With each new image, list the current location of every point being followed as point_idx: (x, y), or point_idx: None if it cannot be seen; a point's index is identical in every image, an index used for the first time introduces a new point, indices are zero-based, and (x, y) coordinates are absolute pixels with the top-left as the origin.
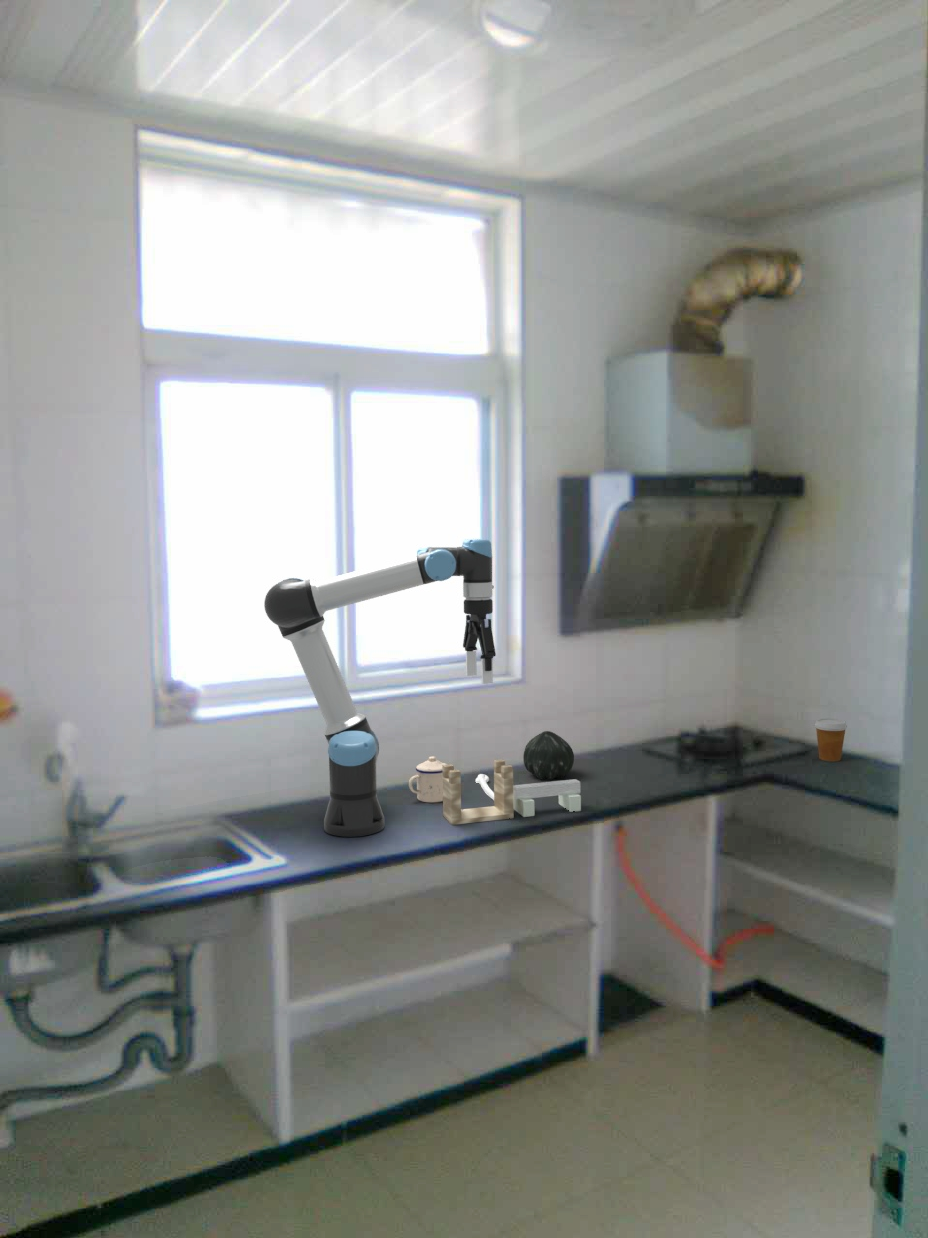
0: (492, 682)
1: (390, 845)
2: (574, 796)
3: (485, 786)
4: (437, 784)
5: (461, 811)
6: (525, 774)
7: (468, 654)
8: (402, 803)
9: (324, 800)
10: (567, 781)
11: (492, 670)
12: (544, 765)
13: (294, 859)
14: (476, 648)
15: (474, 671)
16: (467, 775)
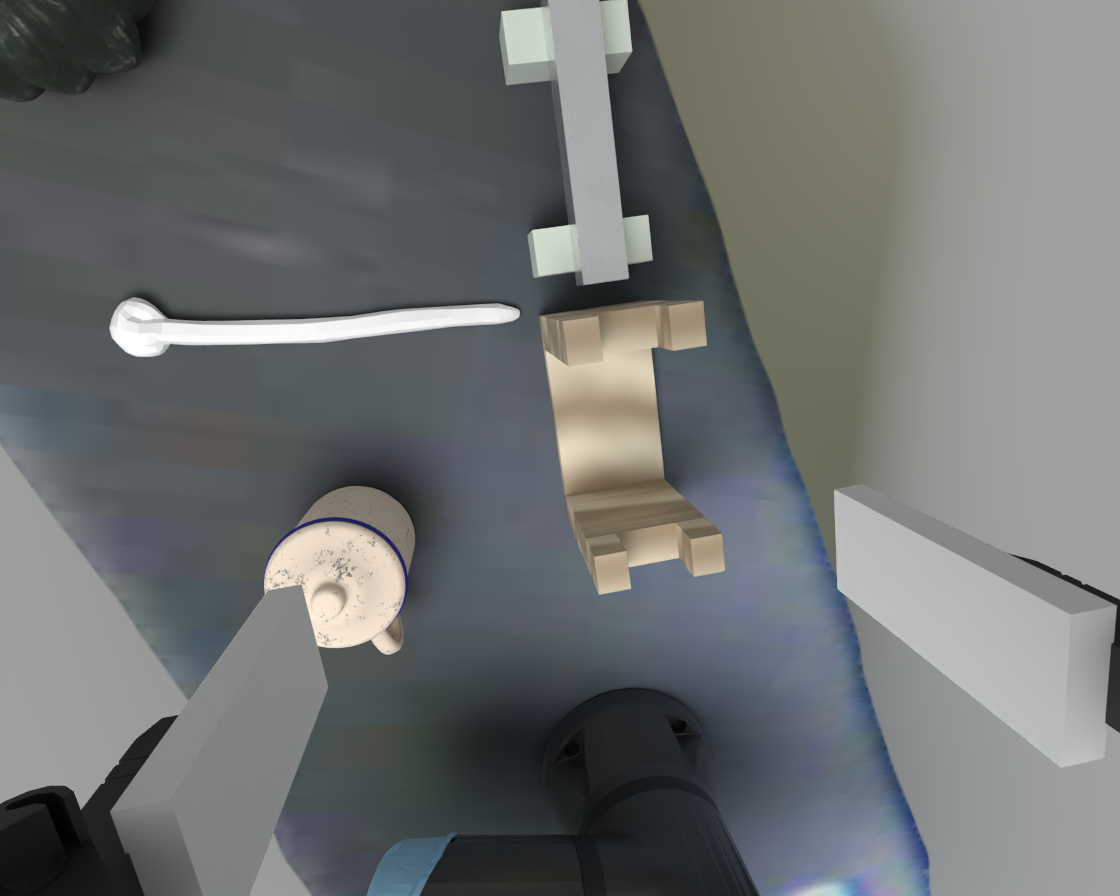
0: (866, 488)
1: (789, 672)
2: (628, 29)
3: (276, 337)
4: (407, 549)
5: (584, 468)
6: (10, 100)
7: (237, 884)
8: (403, 635)
9: (330, 856)
10: (574, 21)
11: (958, 531)
12: (130, 14)
13: (821, 869)
14: (31, 827)
15: (294, 630)
16: (17, 371)
